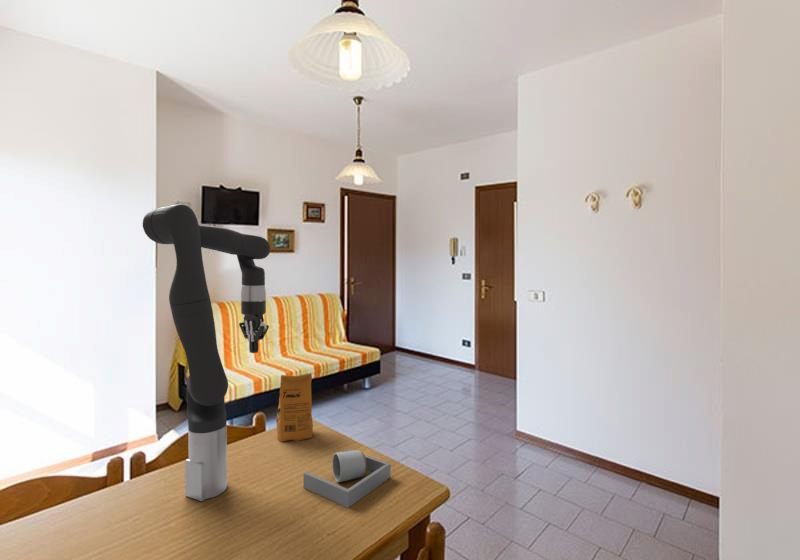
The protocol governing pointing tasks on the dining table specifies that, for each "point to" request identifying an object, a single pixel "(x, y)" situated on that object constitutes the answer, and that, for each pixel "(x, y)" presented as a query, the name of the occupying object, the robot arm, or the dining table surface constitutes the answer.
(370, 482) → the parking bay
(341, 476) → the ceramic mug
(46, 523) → the dining table surface
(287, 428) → the coffee package
